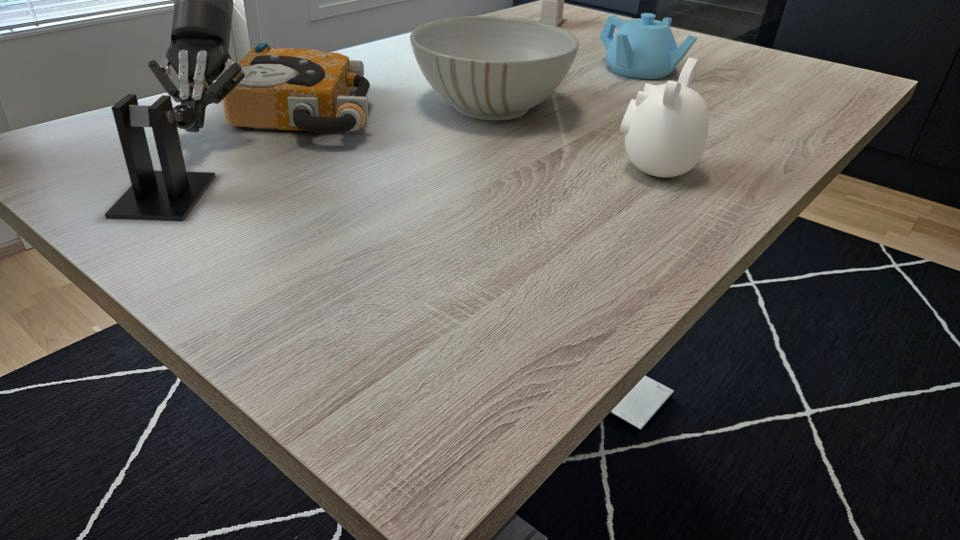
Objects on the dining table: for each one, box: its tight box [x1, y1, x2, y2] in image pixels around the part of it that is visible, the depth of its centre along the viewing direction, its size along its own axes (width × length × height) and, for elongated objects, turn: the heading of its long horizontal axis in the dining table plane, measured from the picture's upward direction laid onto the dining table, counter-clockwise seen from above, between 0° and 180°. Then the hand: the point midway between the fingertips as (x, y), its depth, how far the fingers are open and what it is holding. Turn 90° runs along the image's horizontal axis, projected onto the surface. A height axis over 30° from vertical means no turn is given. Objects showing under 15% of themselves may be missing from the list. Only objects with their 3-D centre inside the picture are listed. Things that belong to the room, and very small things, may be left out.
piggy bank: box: [619, 56, 709, 178], centre depth 95 cm, size 12×12×15 cm
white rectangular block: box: [540, 0, 565, 27], centre depth 165 cm, size 4×7×10 cm, turn 161°
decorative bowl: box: [409, 15, 580, 121], centre depth 115 cm, size 27×27×12 cm
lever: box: [129, 103, 197, 130], centre depth 87 cm, size 14×3×3 cm, turn 0°
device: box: [222, 42, 371, 135], centre depth 110 cm, size 23×8×30 cm
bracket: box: [104, 93, 216, 222], centre depth 84 cm, size 12×9×13 cm
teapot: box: [598, 12, 698, 80], centre depth 137 cm, size 15×15×11 cm
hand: (190, 129), depth 94 cm, fingers closed
